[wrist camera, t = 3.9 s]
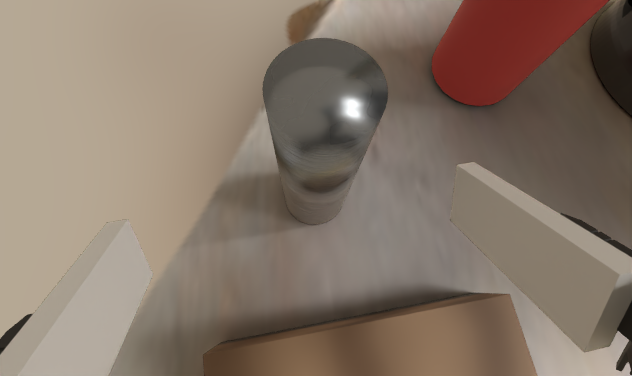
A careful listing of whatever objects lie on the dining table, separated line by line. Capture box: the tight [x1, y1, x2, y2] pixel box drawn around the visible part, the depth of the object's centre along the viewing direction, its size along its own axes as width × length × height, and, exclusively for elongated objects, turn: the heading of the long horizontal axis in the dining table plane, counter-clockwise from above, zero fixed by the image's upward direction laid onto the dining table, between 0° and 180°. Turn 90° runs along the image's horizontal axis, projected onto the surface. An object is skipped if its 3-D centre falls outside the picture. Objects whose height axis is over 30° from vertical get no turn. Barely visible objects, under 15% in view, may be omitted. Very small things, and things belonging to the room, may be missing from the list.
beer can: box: [432, 0, 609, 106], centre depth 19 cm, size 7×7×12 cm
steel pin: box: [263, 38, 388, 225], centre depth 16 cm, size 4×4×12 cm
